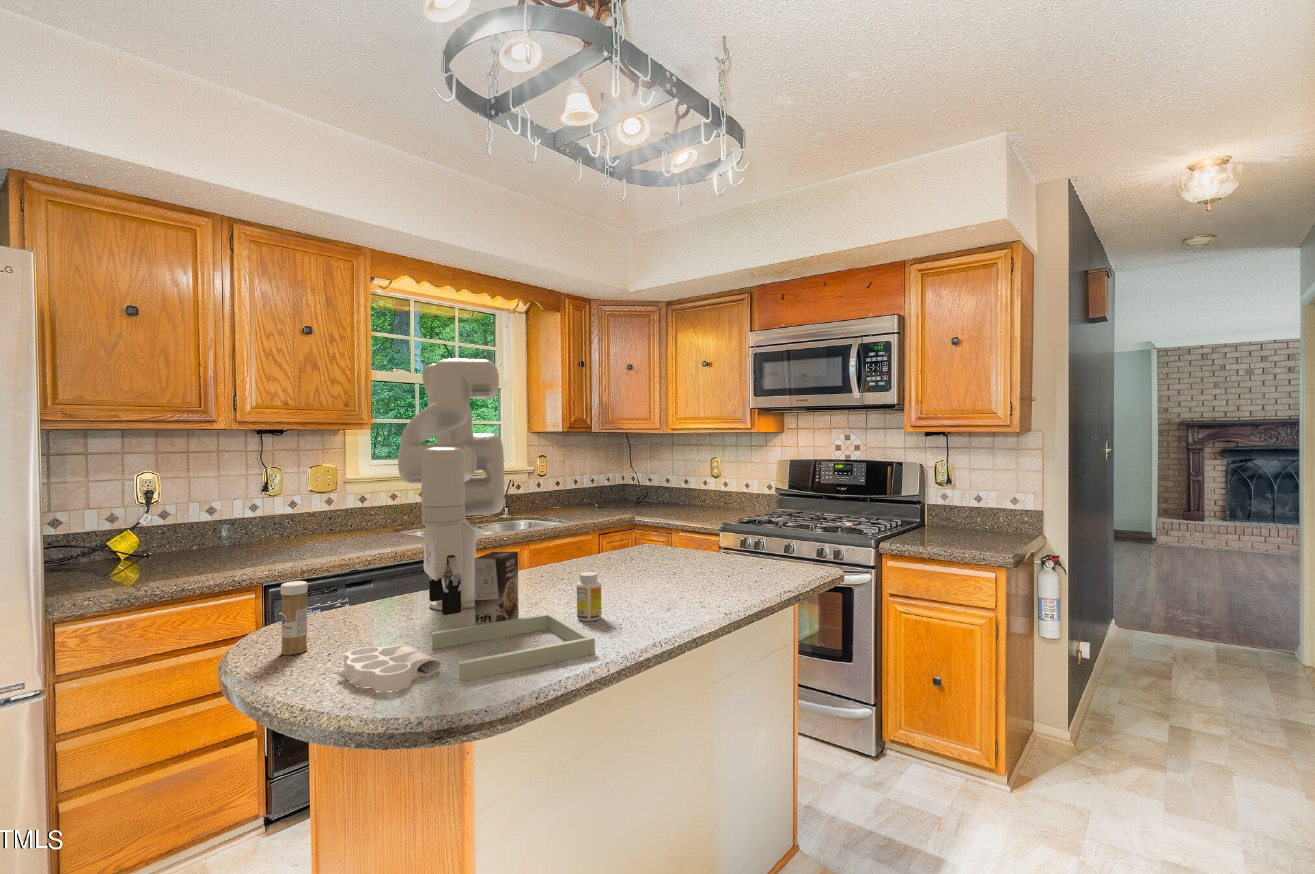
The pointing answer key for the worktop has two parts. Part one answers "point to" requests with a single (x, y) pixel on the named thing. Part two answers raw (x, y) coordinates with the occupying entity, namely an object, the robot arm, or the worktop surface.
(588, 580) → the supplement bottle
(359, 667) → the white brass knuckles
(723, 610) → the worktop surface
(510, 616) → the coffee box
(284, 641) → the sprinkles bottle
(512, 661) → the green rectangular frame
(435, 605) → the robot arm
